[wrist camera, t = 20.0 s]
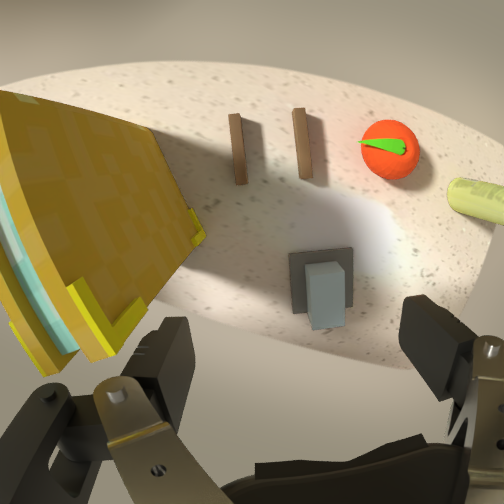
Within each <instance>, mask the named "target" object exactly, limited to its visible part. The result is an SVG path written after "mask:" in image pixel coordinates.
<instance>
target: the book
mask: <svg viewBox="0 0 504 504" xmlns="http://www.w3.org/2000/svg"><path fill="white" fill-rule="evenodd" d="M205 237H206V234H205V232H204V230H203V228H202V226H201V224H200V222H199V220H198V218H197V216H196V214H195V212H194V210H193V208H191V209H189V208H188V206H187V204H186V202H185V200H184V198H183V196H182V194H181V192H180V190H179V188H178V186H177V184H176V182H175V179H174V177H173V175H172V173H171V171H170V169H169V167H168V165H167V163H166V160H165V158H164V156H163V154H162V152H161V150H160V148H159V145H158V143H157V141H156V139H155V137H154V135H153V133H152V132H151V131H150V130H149V129H148V128H147V127H144V126H140V125H137V124H134V123H131V122H128V121H124V120H121V119H118V118H114V117H111V116H108V115H104V114H101V113H97V112H94V111H90V110H86V109H82V108H79V107H75V106H71V105H67V104H63V103H59V102H55V101H51V100H46V99H42V98H37V97H33V96H28V95H23V94H18V93H13V92H8V91H2V90H0V301H1V303H2V305H3V306H4V308H5V310H6V312H7V313H8V316H9V317H10V319H11V321H10V322H9V325H10V327H11V329H12V330H13V332H14V334H15V335H16V337H17V339H18V340H19V342H20V343H21V345H22V347H23V348H24V350H25V351H26V353H27V354H28V356H29V357H30V358H31V360H32V362H33V363H34V365H35V366H36V367H37V369H38V370H39V372H40V373H41V374H42V376H43V377H46V376H50V375H53V374H56V373H60V372H61V371H62V370H63V368H64V367H65V366H66V365H67V363H68V362H69V361H70V360H71V359H72V358H73V357H74V356H75V355H76V353H77V352H78V351H79V350H80V349H81V350H82V351H83V353H84V354H85V355H86V357H87V358H88V360H89V361H90V362H91V363H92V362H95V361H98V360H101V359H105V358H108V357H111V356H114V355H116V354H117V353H118V352H119V350H120V349H121V348H122V346H123V345H124V342H125V341H126V339H127V338H128V337H129V335H130V334H131V333H132V331H133V330H134V329H135V327H136V326H137V324H138V323H139V322H140V320H141V319H142V318H143V316H144V315H145V314H146V312H147V311H148V309H147V307H148V305H149V304H150V303H151V301H152V300H153V299H154V298H155V296H156V295H157V294H158V293H159V291H160V290H161V289H162V287H163V286H164V285H165V284H166V282H167V281H168V280H169V279H170V277H171V276H172V275H173V274H174V272H175V271H176V270H177V269H178V268H179V266H180V265H181V264H182V263H183V261H184V260H185V259H186V258H187V256H188V255H189V254H190V253H191V252H192V250H193V249H194V248H195V247H196V246H199V244H200V243H201V242H202V241H203V239H204V238H205Z"/></svg>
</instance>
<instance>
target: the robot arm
mask: <svg viewBox="0 0 504 504" xmlns="http://www.w3.org/2000/svg"><path fill="white" fill-rule="evenodd" d="M399 344H400V347H401V349H402V350H403V352H404V353H405V354H406V356H407V357H408V358H409V360H410V361H411V362H412V364H413V365H414V367H415V368H416V369H417V371H418V372H419V374H420V375H421V376H422V378H423V379H424V381H425V382H426V383H427V385H428V386H429V388H430V389H431V391H432V392H433V393H434V395H435V396H436V398H437V399H438V401H439V402H440V401H443V400H446V399H449V398H453V399H454V400H453V403H452V405H451V408H450V413H449V418H448V423H447V428H446V431H445V436H444V440H443V443H426V441H425V439H424V437H423V435H422V434H418V435H415V436H412V437H408V438H406V439H402V440H398V441H395V442H391V443H387V444H385V445H383V446H380V447H378V448H376V449H374V450H372V451H370V452H368V453H366V454H364V455H361V456H359V457H357V458H355V459H352V460H350V461H346V462H329V461H309V460H293V461H282V462H268V463H255V475H251V476H247V477H244V478H241V479H238V480H235V481H233V482H231V483H228V484H226V485H224V486H222V487H221V488H219V487H218V486H217V484H216V483H215V482H214V481H213V480H212V479H211V477H209V475H208V474H207V473H206V472H205V470H204V469H203V468H202V467H201V466H200V464H199V463H198V462H197V460H196V459H195V458H194V457H193V455H192V454H191V453H190V452H189V450H188V449H187V448H186V446H185V445H184V444H183V442H182V441H181V440H180V438H179V437H178V436H177V433H178V429H179V426H180V421H181V418H182V414H183V410H184V407H185V403H186V399H187V395H188V392H189V388H190V384H191V381H192V377H193V373H194V370H195V353H194V348H193V343H192V338H191V333H190V328H189V323H188V319H187V318H186V317H165V318H164V320H163V322H162V324H161V325H160V327H159V329H158V330H155V331H154V330H153V331H151V332H150V333H148V334H147V335H146V336H144V337H143V338H142V340H141V341H140V343H139V345H138V348H136V349H135V351H134V354H133V355H132V356H131V358H130V359H129V361H128V363H127V365H126V366H125V368H124V369H123V371H122V373H121V375H120V376H116V377H111V378H109V379H106V380H104V381H102V382H101V383H100V384H99V385H97V387H96V388H95V390H94V392H93V394H92V395H83V396H71V395H70V392H69V390H68V389H67V387H66V386H65V385H63V384H61V383H48V384H45V385H42V386H41V387H39V388H37V389H36V390H35V391H34V392H33V393H32V394H31V395H30V397H29V398H28V400H27V401H26V402H25V404H24V405H23V406H22V408H21V409H20V411H19V412H18V413H17V415H16V416H15V418H14V419H13V420H12V422H11V424H10V425H9V426H8V428H7V429H6V431H5V432H4V434H3V435H2V437H1V438H0V504H88V500H89V497H90V494H91V492H92V489H93V486H94V483H95V480H96V477H97V474H98V471H99V469H100V466H101V463H102V461H104V460H114V463H115V465H116V468H117V470H118V472H119V474H120V476H121V478H122V480H123V482H124V485H125V487H126V489H127V490H128V493H129V495H130V497H131V499H132V500H133V502H134V504H504V340H502V339H500V338H498V337H495V336H490V335H484V336H480V337H478V336H477V335H476V334H475V333H474V332H473V331H471V330H470V329H469V328H468V327H467V326H465V324H463V323H462V322H460V320H459V319H458V318H456V317H454V315H453V314H452V313H451V312H449V311H448V310H447V309H445V308H443V307H440V306H438V305H437V304H435V303H434V302H433V301H432V300H431V299H429V298H428V297H427V296H426V295H424V294H422V295H416V296H409V297H406V298H405V299H404V302H403V308H402V315H401V322H400V329H399ZM56 445H57V446H58V448H59V449H60V450H59V452H58V454H57V456H56V458H55V460H54V463H53V464H52V466H51V468H50V471H49V468H48V463H49V459H50V457H51V455H52V453H53V451H54V449H55V447H56Z"/></svg>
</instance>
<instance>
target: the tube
mask: <svg viewBox="0 0 504 504" xmlns="http://www.w3.org/2000/svg"><path fill="white" fill-rule="evenodd" d="M447 198H448V202H449V205H450V206H451V208H452V209H453V210H455V211H457V212H459V213H463V214H466V215H469V216H473V217H476V218H480V219H483V220H486V221H490V222H493V223H497V224H500V225H503V226H504V186H501V185H496V184H492V183H488V182H483V181H478V180H473V179H467V178H456V179H454V180H453V181H452V182H451V183H450V185H449V187H448V192H447Z"/></svg>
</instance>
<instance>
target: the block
mask: <svg viewBox="0 0 504 504" xmlns="http://www.w3.org/2000/svg"><path fill="white" fill-rule="evenodd" d="M305 275H306V290H307V307H308V317H309V320H310V324H311V327H312V330H319V329H326V328H333V327H340V326H345V271H344V270H343V269H342V267H341V266H340V265H339V264H338V262H337V261H330V262H322V263H314V264H305Z"/></svg>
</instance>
